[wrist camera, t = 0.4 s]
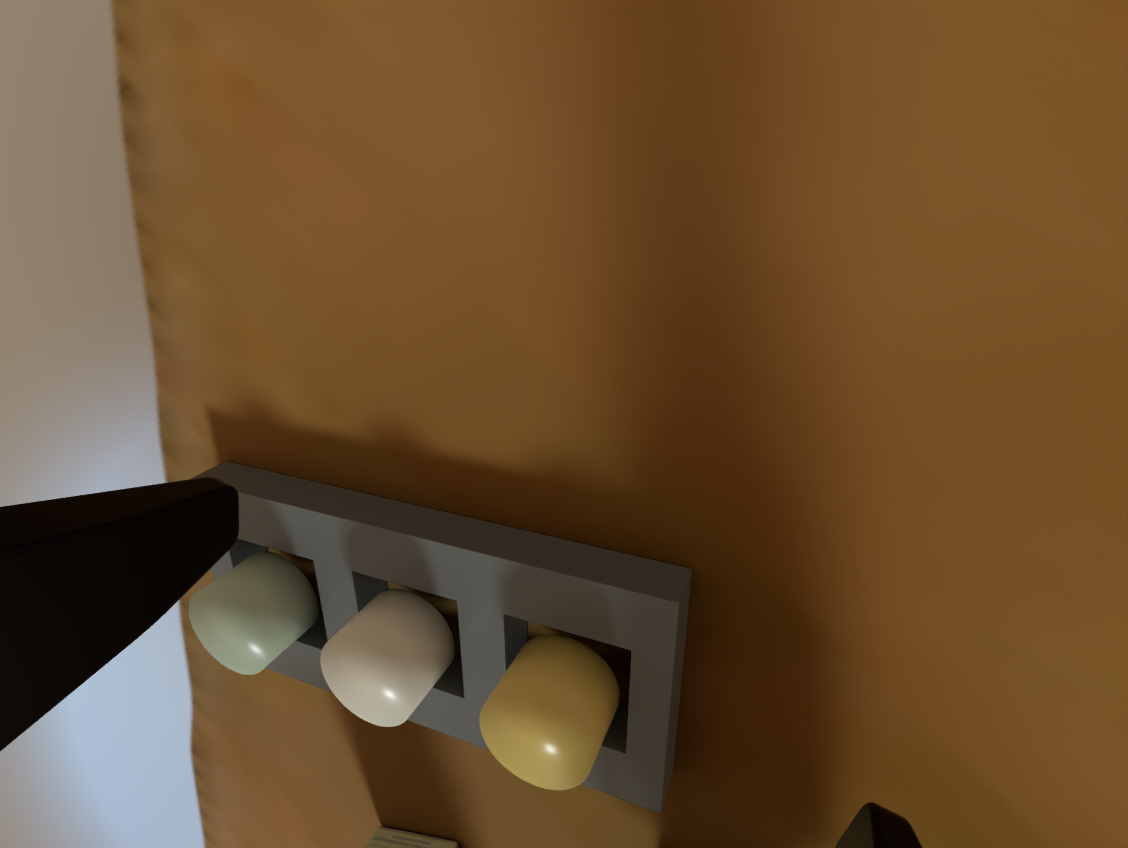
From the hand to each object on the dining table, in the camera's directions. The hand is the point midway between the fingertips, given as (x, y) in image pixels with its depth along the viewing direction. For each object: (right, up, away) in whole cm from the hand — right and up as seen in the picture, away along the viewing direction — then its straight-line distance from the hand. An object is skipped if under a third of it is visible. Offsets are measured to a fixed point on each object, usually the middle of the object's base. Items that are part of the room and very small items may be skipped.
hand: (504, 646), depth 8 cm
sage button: (-12, -5, +21) cm, 25 cm away
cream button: (-6, -6, +19) cm, 20 cm away
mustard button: (+1, -7, +16) cm, 18 cm away
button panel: (-5, -5, +20) cm, 22 cm away
